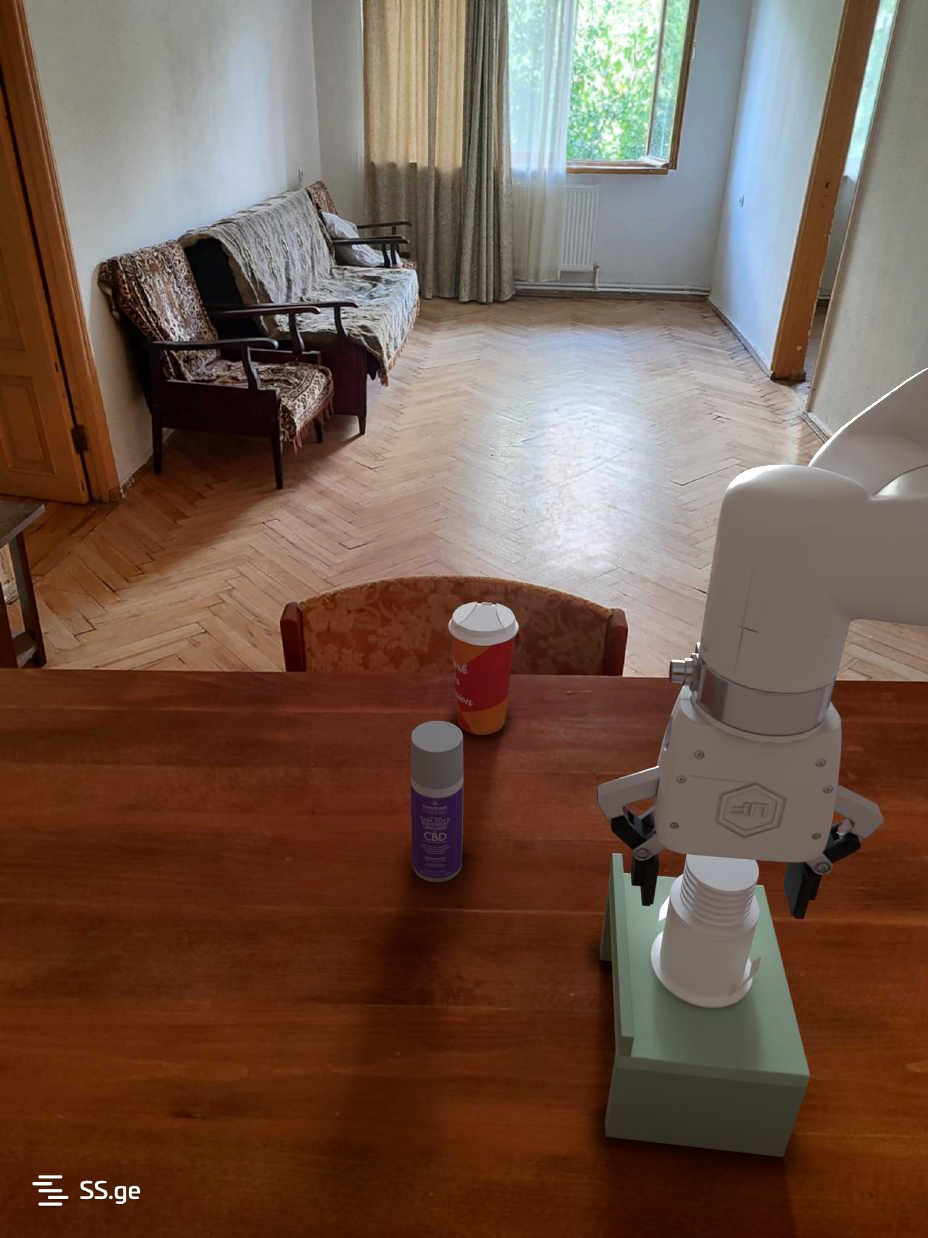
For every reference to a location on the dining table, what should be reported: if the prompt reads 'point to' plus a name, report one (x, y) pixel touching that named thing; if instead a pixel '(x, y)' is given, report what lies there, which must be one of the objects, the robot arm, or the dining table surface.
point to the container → (437, 800)
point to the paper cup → (482, 664)
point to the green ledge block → (698, 1041)
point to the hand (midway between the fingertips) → (718, 896)
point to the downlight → (709, 932)
